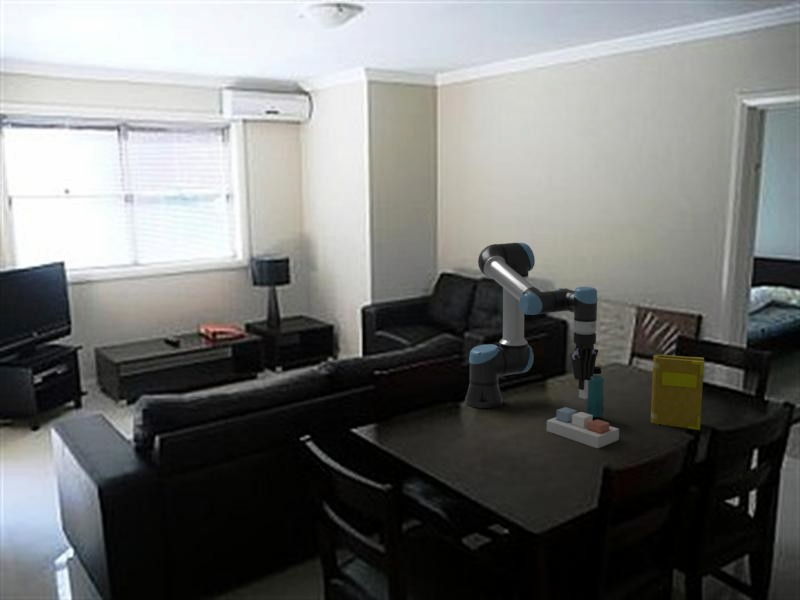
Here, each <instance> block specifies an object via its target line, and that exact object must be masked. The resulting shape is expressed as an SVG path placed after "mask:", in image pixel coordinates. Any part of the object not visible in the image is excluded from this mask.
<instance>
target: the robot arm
mask: <svg viewBox="0 0 800 600" xmlns="http://www.w3.org/2000/svg"><path fill="white" fill-rule="evenodd" d="M534 254H535V253H534V252H533V249H532V248H531V246H530V245H528V244H527V243H524V242H507V243H493V244H489V245H487V246H486V247H484V248H483V249H482V250H481V251H480V253H479V255H478V257H477V258H478V260H477V263H478V264H477V265H478V269H479V270H480V272H481V273H482V274H483V275H484V276H485V277H486V278H488V279H490V280H494V281H495V282H496V283H497V284H499V286H501V288H502V338H501V339H499V342H498V345H496V344H491V343H490V344H480V345H476V346H475V347H472V348H471V350H470V352H469V358H468V362H469V385H468V388H467V393H466V394H465V404H466V405H468V406H470V407H473V408H478V409H493V408H497V407H500V406H502V405H503V399H504V398H503V395H502V393H501V392H502V391H501V389H500V385H499V377H503V376H510V375H520V374H522V373H527V372H528V371H529V370H530V369H532V366H533V364H534V357H535V355H534V352H533V348H532V347H531V345H529V343H528V341H527V340H526V338H525V315H529V316H530V315H531V316H532V315H533V316H535V315H539V314H541V315H542V314H548V313H549V314H550V313H560V312H570V313H573V331H574V332H573V343H574V344H575V348H574V353H570V355H569V356H570V357H569V358H570V359H571V363H572V364H571V365H572V370H573V377H574V380H578V398H580V399H584V400H586V399H587V398H588V387H589V380H591V379H592V378H590V377H593V375H594V374H593V373H594V368H595V366H596V362H597V356H598V353H599V349H597V348H595V346H594V345H595V344H596V342H597V333H596V332H597V317H598V316H597V315H598V290H597V288H595V287H593V286H592V287H589V286H578V287H576V288H575V290H572V289H569V288H563V287H562V288H561V287H560V288H556V289H555V290H550V291H541V290H540V289H538V288H537V287H536V286H534V285H533V284H532V283H530V281H528V280H527V278H529V272H530V271H532V270H533V269H534V267H535V262H536V261H535V255H534Z"/></svg>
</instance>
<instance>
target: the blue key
mask: <svg viewBox="0 0 800 600" xmlns="http://www.w3.org/2000/svg"><path fill="white" fill-rule="evenodd" d="M576 413H578V411H577V410H576V409H573V408H570V407H567V406H564V407H562V408H559V409H558V408H557V409H556V413H555V414H556V416H555V417H556V420H558V421H561V422H565V423H571V422H572V415H573V414H576Z"/></svg>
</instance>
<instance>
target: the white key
mask: <svg viewBox="0 0 800 600" xmlns="http://www.w3.org/2000/svg"><path fill="white" fill-rule="evenodd" d="M593 418H594V417H593V415H590V414H587V413H586V412H582V411H580V412H579V411H578V412H577V413H576V414H573V415H572V425H574V426H577V427H580V428H583V429H585V428H587V427H588V424H589V422H591V421H594V419H593Z"/></svg>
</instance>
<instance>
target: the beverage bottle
mask: <svg viewBox="0 0 800 600" xmlns="http://www.w3.org/2000/svg"><path fill="white" fill-rule="evenodd" d="M600 374H602V367H600V366H596V365H595V368H594V373H593V377H590V378H592V379H591V380H589V387H588V398H587V399H585V400H586V406H585V407H586V408H585V413H587V414H590V415H593V418H601V417H603V416H604V410H605V404H604V403H605V396H604V395H605V378H604V377H603V376H602V375H600Z"/></svg>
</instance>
